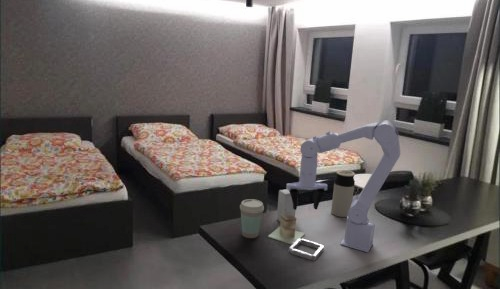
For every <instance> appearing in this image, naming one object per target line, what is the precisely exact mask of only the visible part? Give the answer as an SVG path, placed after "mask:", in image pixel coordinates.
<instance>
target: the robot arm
mask: <svg viewBox="0 0 500 289" xmlns="http://www.w3.org/2000/svg"><path fill="white" fill-rule="evenodd" d="M362 138H365V139H367V140H371V141H373V139H375V141H376V142H377V144H379V145H380V148H381V150H382V152H383V155H382V156H381V158H380V160H379V162H378V163H377V165H376V166H375V168H374V170H373V172H372V173H371V175H370V177H369V178H368V180H367V182H366V184H365V185H364V186H363V189H362V190H361V192H360V193H359V195H358V196H356V197H355V198H354V199H353V200H352V203H351V207H350V209H349V210H348V216H347V217H346V221H345V222H346V223H345V229H344V230H345V231H344V238H343V239H342V240H341V242H340V245H341V246H344V247H348V248H352V249H355V250H358V251H362V252H365V253H368V252H369V251H370V249H371V248H372V246H373V244H374V235H375V228H376V227H375V226H376V224H375V223H372V222H370V220H369V217H368V215H369V214H368V213H369V210H370V209H371V205H372V204H373V202H374V200H375V199H376V196H377V194H378V193H379V191H380V190H381V188H382V187H383V185H384V183H385V181H386V180H387V178H388V176H389V175H390V173H391V171H392V170H393V169H394V166H395V165H396V163H397V162H398V160H399V159H400V157H401V156H400V155H401V145H400V136H399V130H398V129H397V126H396V125H395V123H393V122H392V121H391V120H386V119H385V120H382V121H379V122H378V121H377V122H372V123H367V124H364V125H361V126H357V127H355V128H352V129H350V130H346V131H344V132H341V133H337V132H336V131H335V132H334V131H327V132H325V134H321V135H318V136H317V135H315V136H313V137H312V138H308V139H306V140H305V141H303V143H301V145H300V148H299V150H300V153H301V159H300V168H299V180H298V181H297V182H291V183H286V186H285V187H286V189H287V190H289V192H290V194H291V197H292V202H293V208H294V210H295V211H297V209H298V207H297V206H298V198H299V192H298V191H299V190H300V191H301V190H302V191H303V190H305V191H313V190H314V192H313V194H314V197H313V198H314V199H313V208H314V210H318V209H319V208H318V206H319V204H320V202H321V200H322V198H323V197H324V196H325V195H326V192H325V191H328V184H327V183H323V182H322V183H321V182H316V180H317V170H318V156H319V155H318V154H323V153H326V152H329V151H332V150H336V149H339V148H340V146H341V144H344V143H347V142H352V141H354V140H359V139H362Z"/></svg>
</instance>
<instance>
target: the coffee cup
mask: <svg viewBox="0 0 500 289" xmlns="http://www.w3.org/2000/svg"><path fill="white" fill-rule="evenodd" d="M239 209H240V220H241V221H240V222H241V234H242V236H243V237H244V238H247V239H257V237H258V236H259V235H260V228H261V224H262V218H263V212H264V211H265V206H264V203H263V202H262V201H261V200H258V199H255V198H254V199H253V198H251V199H250V198H249V199H244V200H242V201H241V203H240V204H239Z"/></svg>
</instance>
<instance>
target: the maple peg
mask: <svg viewBox="0 0 500 289" xmlns="http://www.w3.org/2000/svg"><path fill="white" fill-rule="evenodd" d="M296 226H297V218H296V216H295V217H294V216H293V215H292V214H286V215H281V220H280V221H279V227H280V232H279V233H280V234H281V235H282V236H283V237H284V238H290V237H295V231H296Z"/></svg>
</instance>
